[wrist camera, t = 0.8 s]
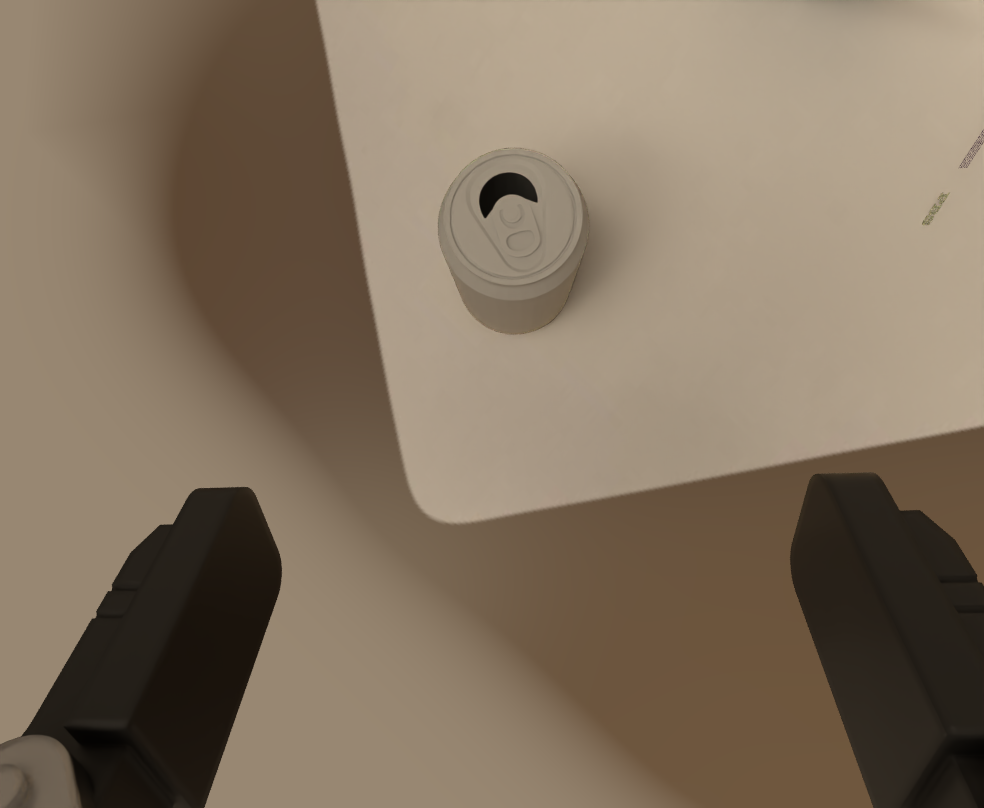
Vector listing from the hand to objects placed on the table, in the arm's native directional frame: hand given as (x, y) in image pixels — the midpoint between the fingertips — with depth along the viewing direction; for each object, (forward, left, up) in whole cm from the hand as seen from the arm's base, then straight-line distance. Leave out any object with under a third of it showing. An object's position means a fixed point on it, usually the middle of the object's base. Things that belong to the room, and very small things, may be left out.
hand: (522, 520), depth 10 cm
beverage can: (-4, +9, -29) cm, 31 cm away
